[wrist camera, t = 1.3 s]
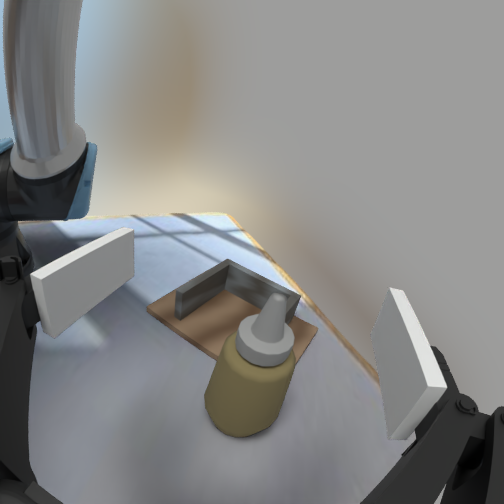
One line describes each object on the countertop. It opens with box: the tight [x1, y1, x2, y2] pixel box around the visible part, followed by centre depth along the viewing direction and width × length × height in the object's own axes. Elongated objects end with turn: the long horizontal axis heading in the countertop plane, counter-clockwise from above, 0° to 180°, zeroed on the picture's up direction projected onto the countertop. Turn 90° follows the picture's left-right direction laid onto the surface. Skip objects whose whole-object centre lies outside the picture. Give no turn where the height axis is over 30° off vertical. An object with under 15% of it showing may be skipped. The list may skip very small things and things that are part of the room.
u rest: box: [147, 259, 318, 365], centre depth 42 cm, size 22×15×6 cm
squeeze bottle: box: [204, 292, 296, 437], centre depth 25 cm, size 8×8×18 cm
